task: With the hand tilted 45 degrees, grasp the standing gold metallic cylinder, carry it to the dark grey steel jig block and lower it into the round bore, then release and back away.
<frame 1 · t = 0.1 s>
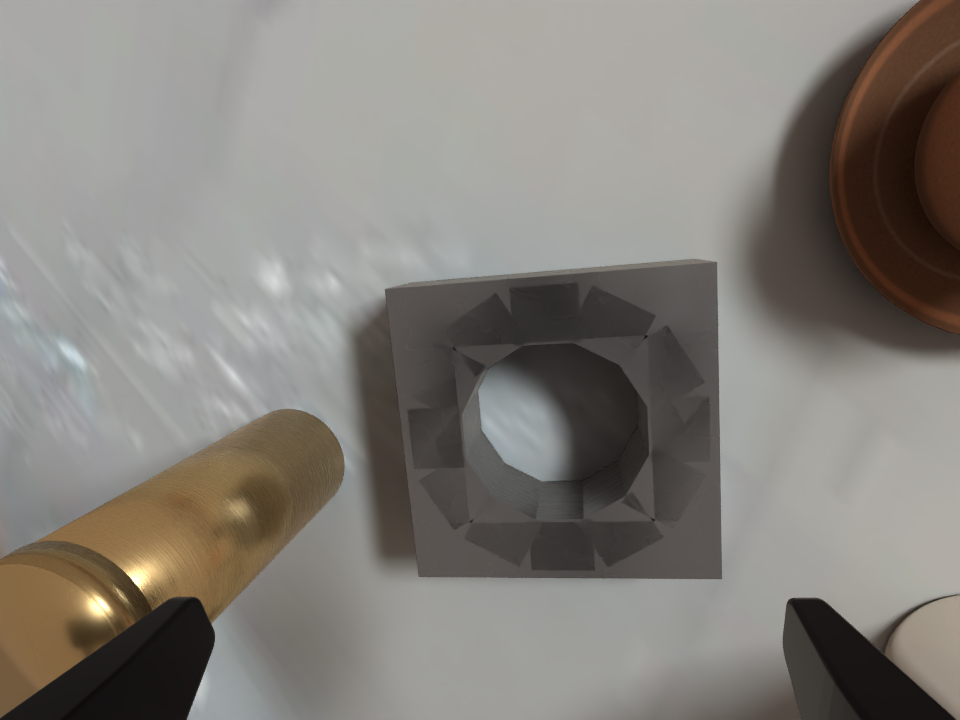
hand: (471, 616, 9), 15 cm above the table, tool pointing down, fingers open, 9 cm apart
gold metallic cylinder: (293, 460, 26), on the table
jig: (556, 407, 24), on the table
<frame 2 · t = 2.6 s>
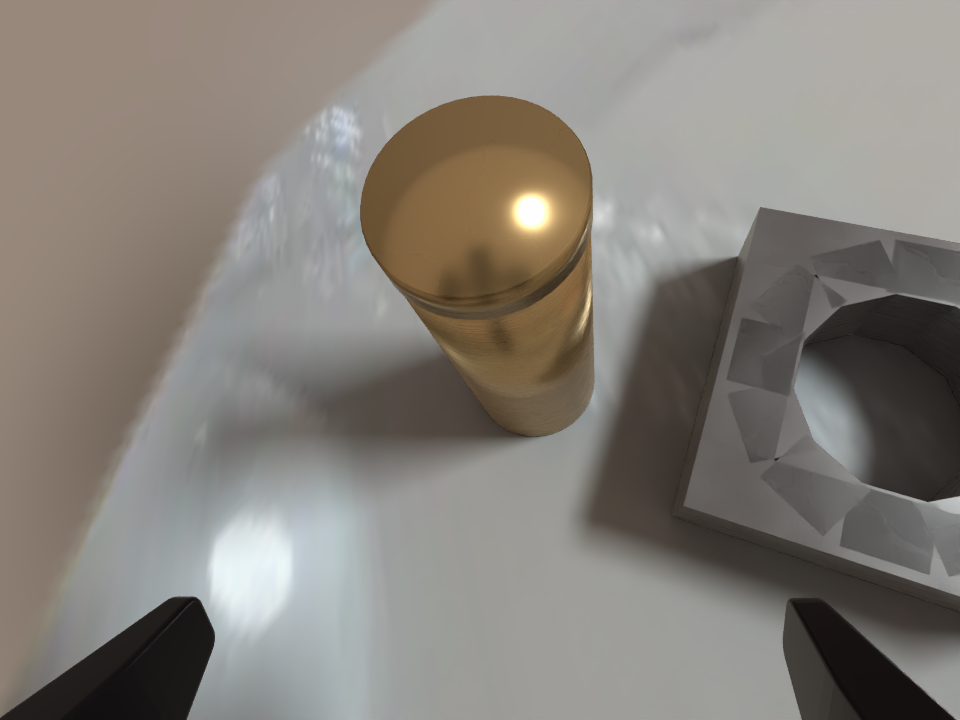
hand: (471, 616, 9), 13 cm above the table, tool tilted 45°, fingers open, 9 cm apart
gold metallic cylinder: (535, 378, 24), on the table
jig: (863, 419, 21), on the table
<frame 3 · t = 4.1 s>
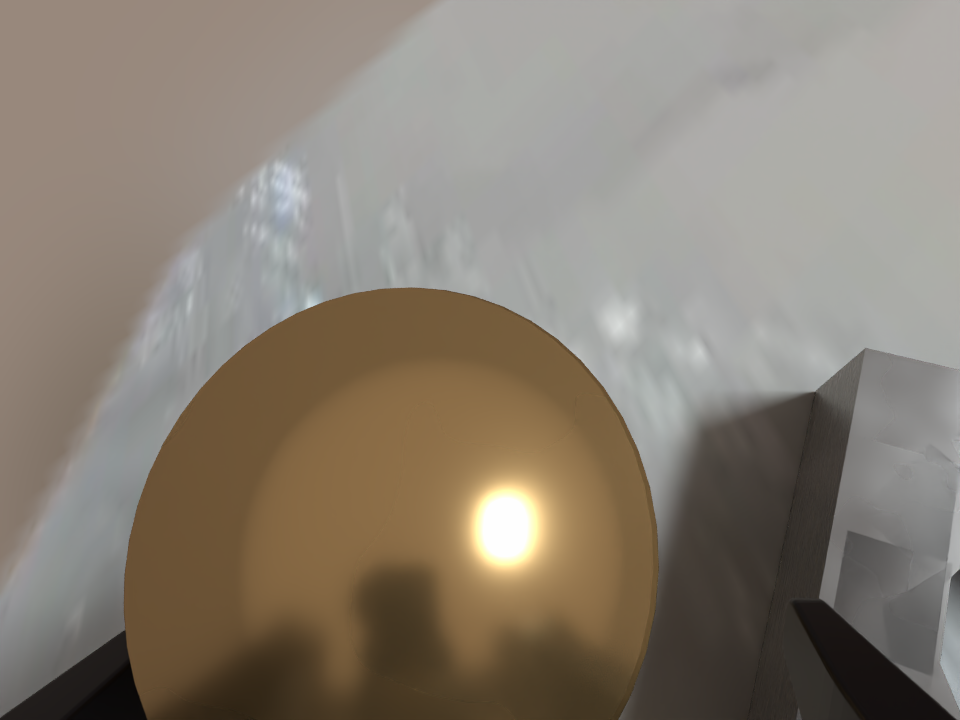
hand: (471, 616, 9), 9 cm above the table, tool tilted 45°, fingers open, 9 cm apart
gold metallic cylinder: (530, 563, 17), on the table
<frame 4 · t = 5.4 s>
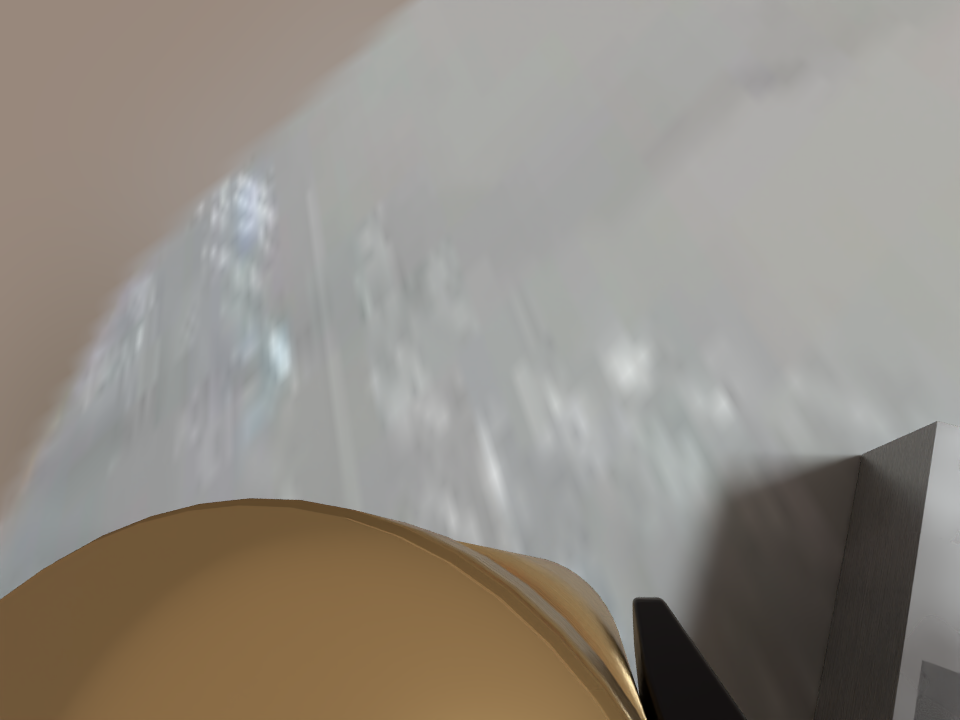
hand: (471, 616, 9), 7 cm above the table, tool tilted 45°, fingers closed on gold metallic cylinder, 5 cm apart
gold metallic cylinder: (524, 658, 15), on the table, touching gripper
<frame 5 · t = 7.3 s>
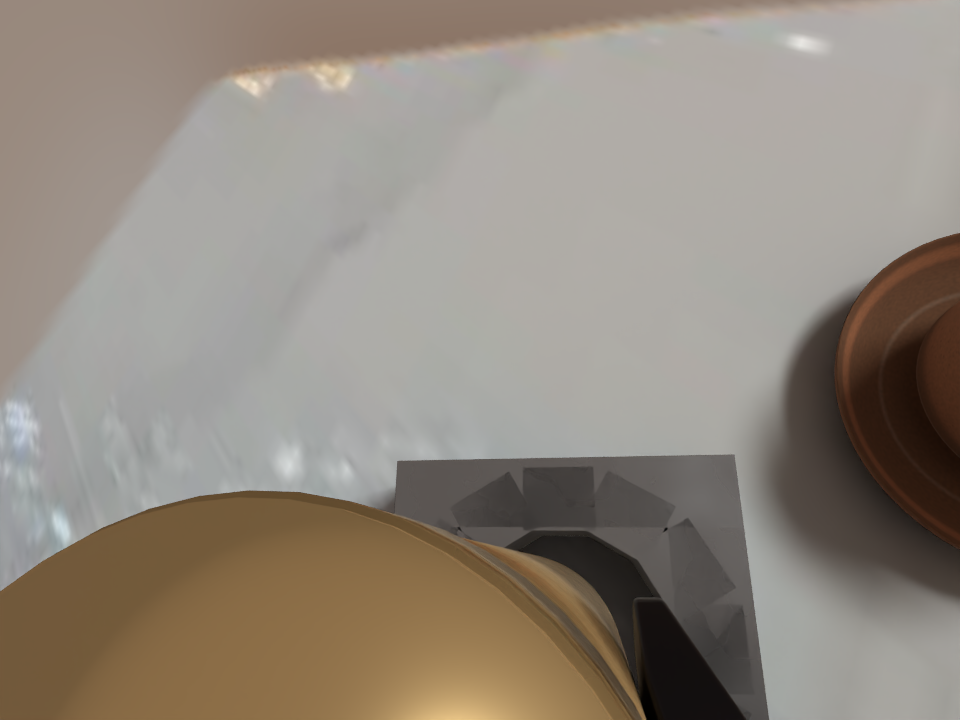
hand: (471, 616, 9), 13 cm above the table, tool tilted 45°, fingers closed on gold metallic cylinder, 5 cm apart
gold metallic cylinder: (524, 656, 15), point 7 cm above the table, touching gripper
jig: (568, 630, 21), on the table
when the fingers open (9 cm above the table, at t = 8.7 s): gold metallic cylinder drops 2 cm, resting in jig.
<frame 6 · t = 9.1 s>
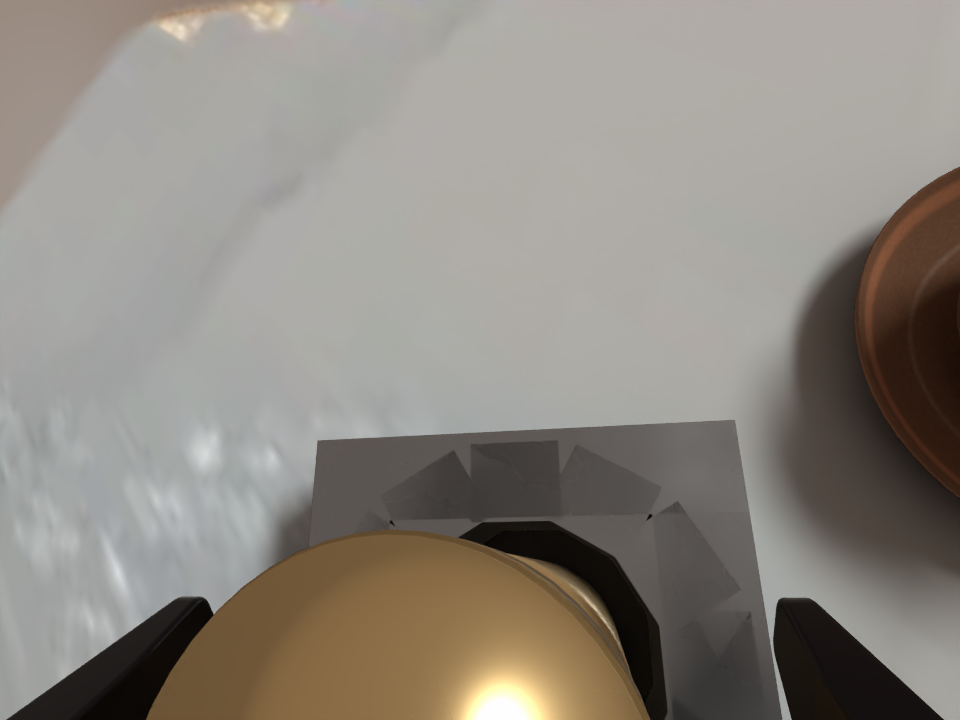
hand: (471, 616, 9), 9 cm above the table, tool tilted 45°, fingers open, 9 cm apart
gold metallic cylinder: (534, 648, 17), resting in jig
jig: (534, 646, 17), on the table
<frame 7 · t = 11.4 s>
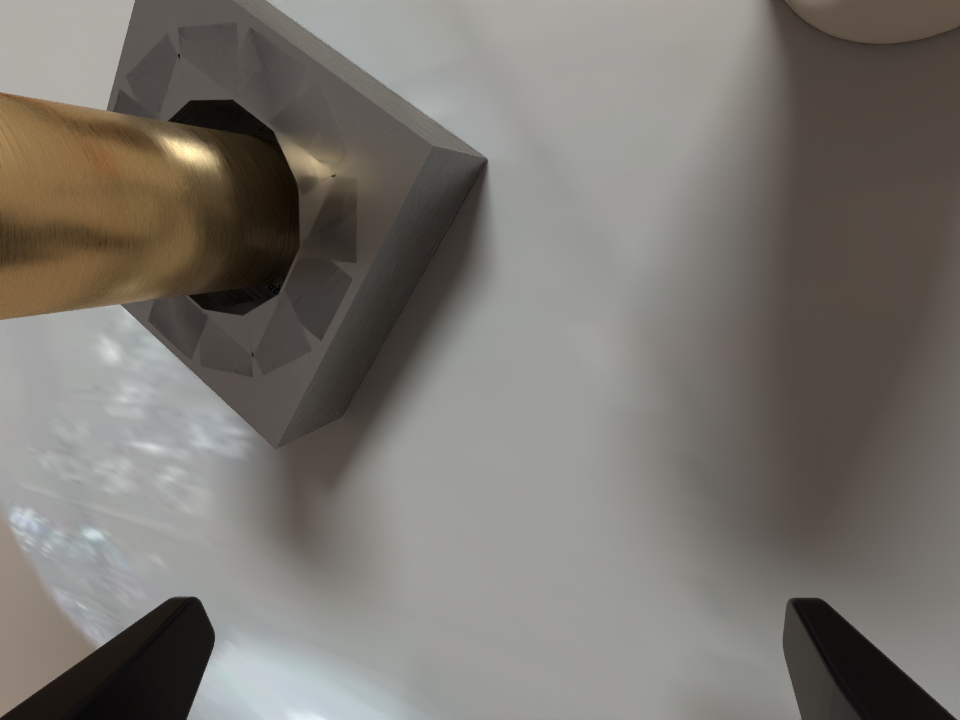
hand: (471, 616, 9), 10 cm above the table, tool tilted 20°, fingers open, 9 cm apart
gold metallic cylinder: (295, 213, 21), resting in jig
jig: (294, 212, 21), on the table
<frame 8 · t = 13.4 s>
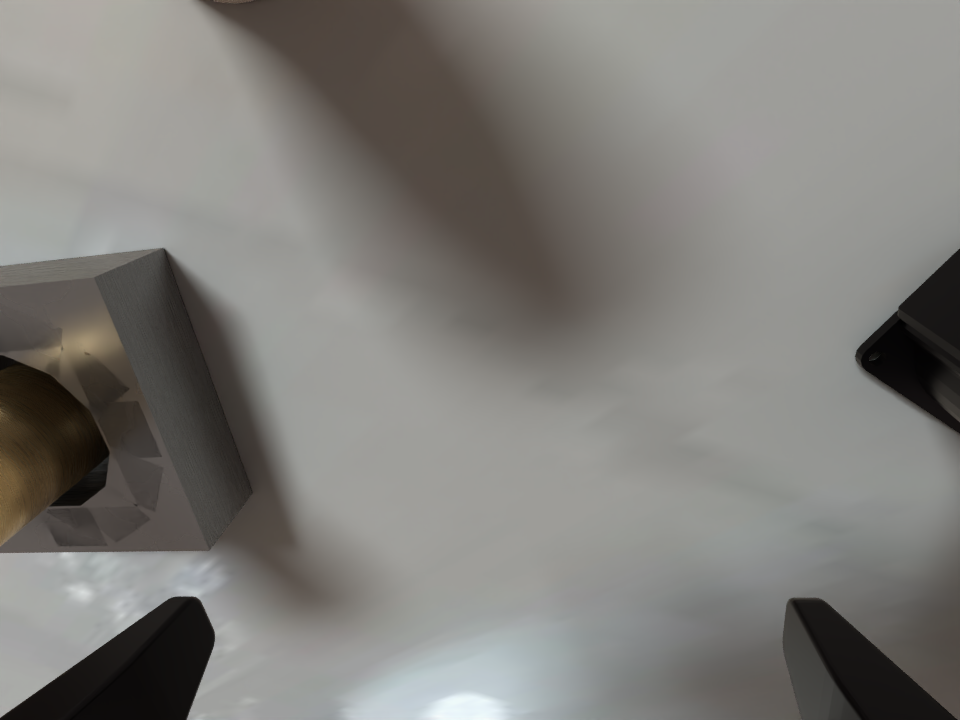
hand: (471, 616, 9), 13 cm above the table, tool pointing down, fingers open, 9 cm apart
gold metallic cylinder: (94, 390, 24), resting in jig
jig: (93, 390, 24), on the table
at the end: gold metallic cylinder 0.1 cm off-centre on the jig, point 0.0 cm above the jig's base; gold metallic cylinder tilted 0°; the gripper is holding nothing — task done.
